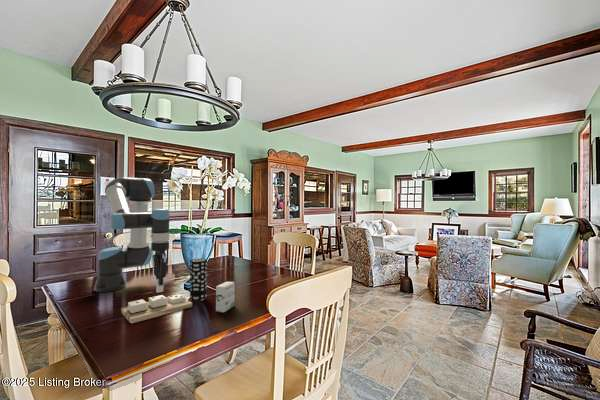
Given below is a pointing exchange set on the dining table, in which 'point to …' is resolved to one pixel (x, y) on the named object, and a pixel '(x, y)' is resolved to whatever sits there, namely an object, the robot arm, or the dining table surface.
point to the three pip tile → (176, 299)
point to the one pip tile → (137, 306)
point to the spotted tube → (198, 279)
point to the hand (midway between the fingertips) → (159, 291)
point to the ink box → (225, 296)
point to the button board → (155, 311)
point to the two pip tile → (157, 301)
